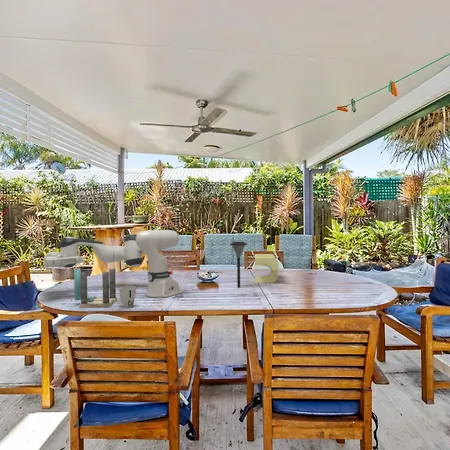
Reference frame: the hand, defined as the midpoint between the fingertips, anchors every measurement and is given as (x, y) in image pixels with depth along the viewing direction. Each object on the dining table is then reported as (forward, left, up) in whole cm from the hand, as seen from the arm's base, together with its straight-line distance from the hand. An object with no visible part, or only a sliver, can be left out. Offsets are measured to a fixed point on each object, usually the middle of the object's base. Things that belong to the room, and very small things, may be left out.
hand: (68, 261), depth 195 cm
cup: (-16, +35, -22) cm, 45 cm away
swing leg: (-2, +15, -19) cm, 25 cm away
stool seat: (-8, +19, -22) cm, 30 cm away
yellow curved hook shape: (-123, +44, -22) cm, 132 cm away
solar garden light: (-91, +46, -22) cm, 104 cm away
